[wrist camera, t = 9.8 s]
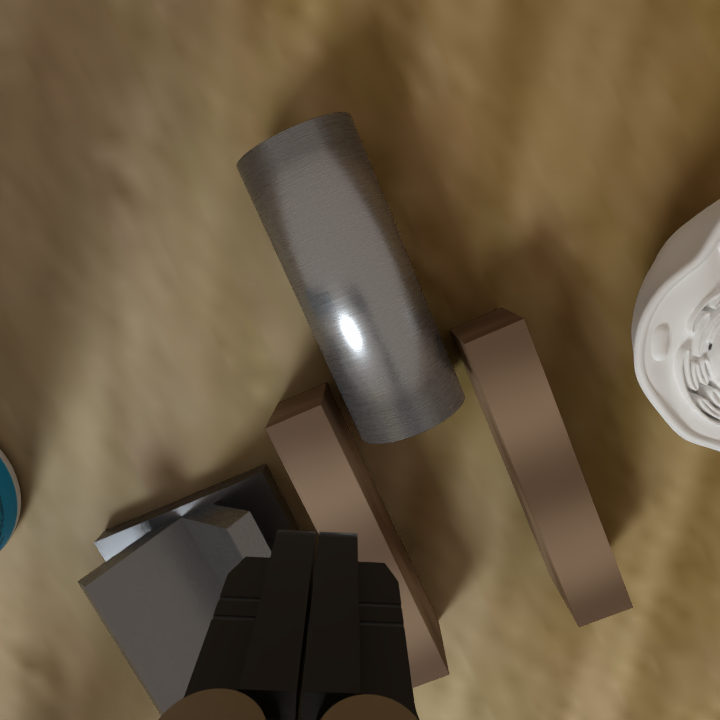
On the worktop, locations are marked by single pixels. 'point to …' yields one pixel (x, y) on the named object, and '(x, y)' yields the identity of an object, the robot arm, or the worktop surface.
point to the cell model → (683, 330)
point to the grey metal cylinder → (352, 277)
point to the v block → (180, 574)
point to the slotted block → (521, 457)
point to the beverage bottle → (8, 500)
